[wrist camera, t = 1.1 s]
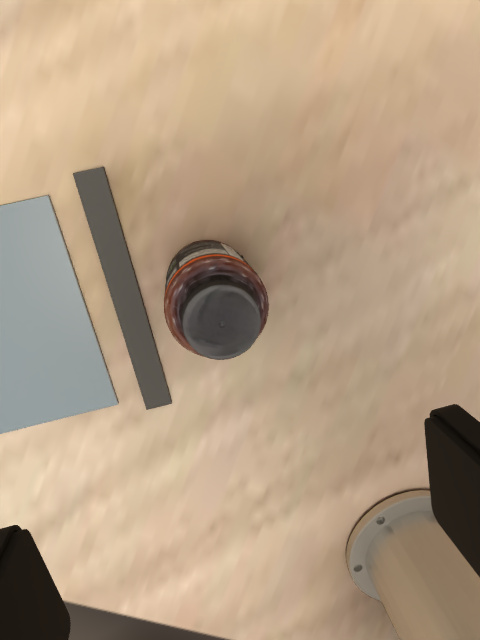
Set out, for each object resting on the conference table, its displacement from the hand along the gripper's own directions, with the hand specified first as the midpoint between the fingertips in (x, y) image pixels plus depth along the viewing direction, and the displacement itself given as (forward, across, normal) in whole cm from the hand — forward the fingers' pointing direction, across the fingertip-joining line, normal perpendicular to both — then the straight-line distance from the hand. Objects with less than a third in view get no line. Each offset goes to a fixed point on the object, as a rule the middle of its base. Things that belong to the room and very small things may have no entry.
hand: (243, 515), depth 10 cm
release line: (+24, +5, 0) cm, 25 cm away
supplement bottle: (+24, -1, 0) cm, 24 cm away
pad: (+24, +13, 0) cm, 27 cm away
